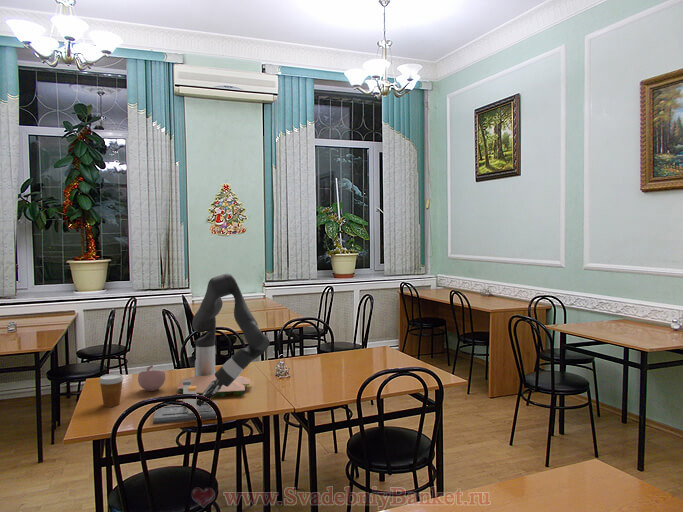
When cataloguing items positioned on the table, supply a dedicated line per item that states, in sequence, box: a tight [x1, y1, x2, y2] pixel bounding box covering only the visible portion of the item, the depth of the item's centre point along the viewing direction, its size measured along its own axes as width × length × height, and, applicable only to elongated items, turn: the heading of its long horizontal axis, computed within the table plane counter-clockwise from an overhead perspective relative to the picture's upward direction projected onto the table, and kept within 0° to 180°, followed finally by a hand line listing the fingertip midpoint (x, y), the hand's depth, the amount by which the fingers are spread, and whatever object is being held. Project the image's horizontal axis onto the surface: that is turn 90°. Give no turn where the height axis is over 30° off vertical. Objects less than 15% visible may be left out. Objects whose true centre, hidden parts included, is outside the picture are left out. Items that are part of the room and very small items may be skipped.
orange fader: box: [188, 386, 197, 414], centre depth 201 cm, size 3×3×11 cm
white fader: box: [182, 380, 191, 407], centre depth 209 cm, size 3×3×11 cm
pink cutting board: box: [176, 374, 252, 398], centre depth 236 cm, size 23×33×8 cm
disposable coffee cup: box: [98, 373, 124, 408], centre depth 216 cm, size 10×10×12 cm
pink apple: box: [137, 364, 167, 392], centre depth 236 cm, size 12×12×11 cm
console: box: [152, 400, 218, 424], centre depth 205 cm, size 24×15×2 cm, turn 104°
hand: (197, 404), depth 201 cm, fingers closed
